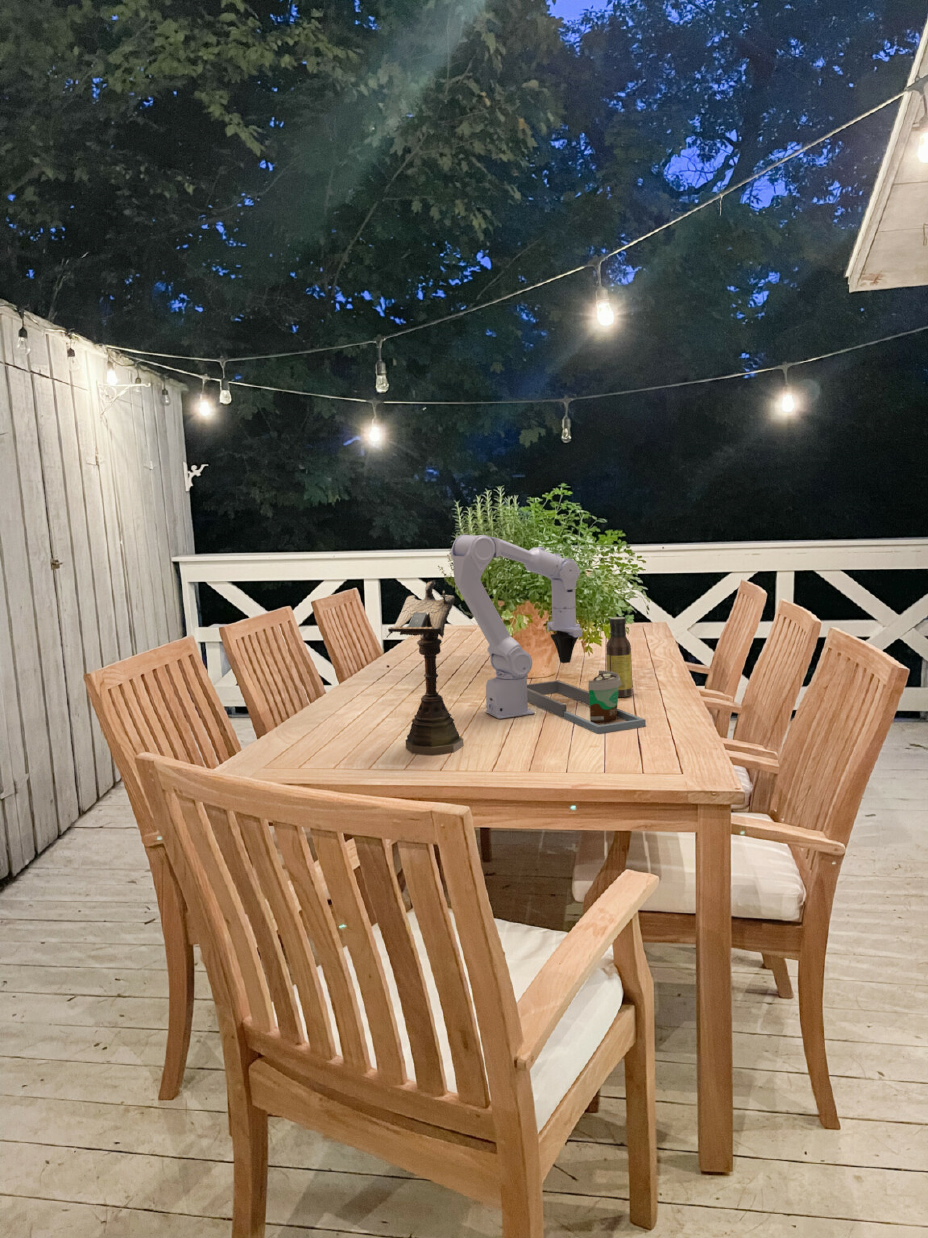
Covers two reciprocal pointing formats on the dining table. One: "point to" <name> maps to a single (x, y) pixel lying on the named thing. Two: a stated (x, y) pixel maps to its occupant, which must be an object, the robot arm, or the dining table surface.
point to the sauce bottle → (620, 655)
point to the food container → (604, 697)
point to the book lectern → (429, 674)
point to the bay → (630, 723)
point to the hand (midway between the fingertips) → (565, 662)
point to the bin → (549, 704)
